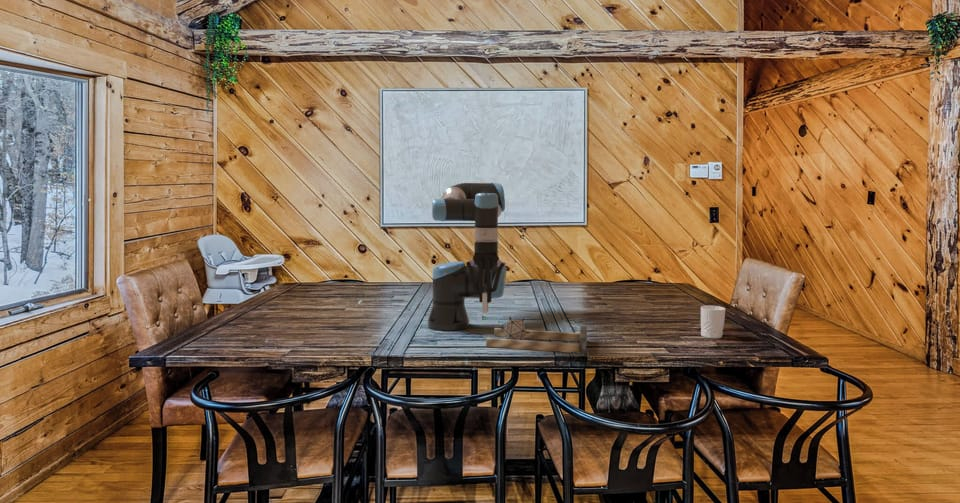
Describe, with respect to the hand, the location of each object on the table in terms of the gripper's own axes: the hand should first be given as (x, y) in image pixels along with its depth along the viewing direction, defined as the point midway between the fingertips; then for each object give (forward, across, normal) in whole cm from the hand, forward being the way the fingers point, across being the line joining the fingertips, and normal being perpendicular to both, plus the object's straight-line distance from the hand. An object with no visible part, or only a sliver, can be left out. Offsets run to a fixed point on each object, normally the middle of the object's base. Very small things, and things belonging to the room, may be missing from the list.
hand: (485, 312), depth 184 cm
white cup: (+10, +75, +26) cm, 80 cm away
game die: (+10, +10, 0) cm, 14 cm away
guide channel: (+10, +17, 0) cm, 19 cm away
